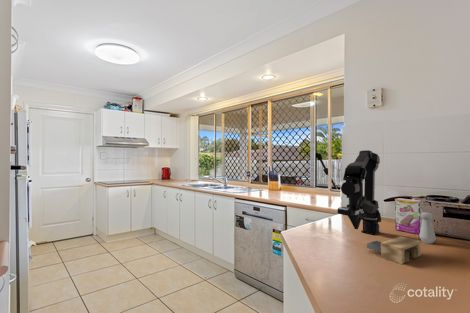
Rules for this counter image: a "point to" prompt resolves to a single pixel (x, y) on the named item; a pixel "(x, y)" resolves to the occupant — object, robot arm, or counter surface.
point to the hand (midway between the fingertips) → (356, 229)
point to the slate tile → (377, 247)
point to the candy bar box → (408, 215)
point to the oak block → (400, 249)
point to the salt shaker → (427, 229)
